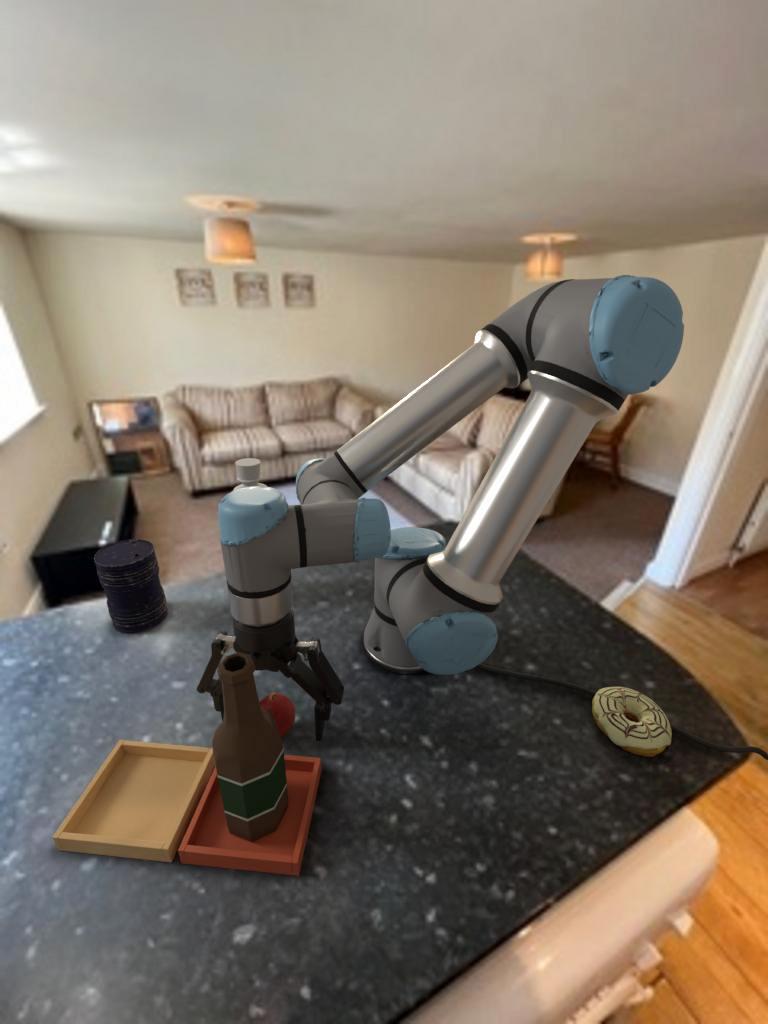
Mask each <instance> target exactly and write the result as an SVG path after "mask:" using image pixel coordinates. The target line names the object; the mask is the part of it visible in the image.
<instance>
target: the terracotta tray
mask: <svg viewBox="0 0 768 1024" xmlns="http://www.w3.org/2000/svg"><path fill="white" fill-rule="evenodd" d="M284 758H285V768H286V779H287V789H288V808H287V810H286V812H285V814H284V816H283V818H282V820H281V822H280V824H279V826H278V828H277V830H276V831H274V832H272V833H270V834H268V835H266V836H264V837H262V838H260V839H258V840H256V841H254V842H250V841H248V840H245V839H243V838H240V837H238V836H235V835H233V834H230V832H229V829H228V826H227V821H226V816H225V811H224V806H223V801H222V796H221V791H220V786H219V781H218V776H217V771H216V766H215V767H214V769H213V771H212V774H211V776H210V778H209V780H208V782H207V785H206V787H205V789H204V791H203V794H202V796H201V798H200V800H199V803H198V805H197V807H196V809H195V812H194V814H193V816H192V818H191V821H190V823H189V825H188V827H187V829H186V832H185V834H184V836H183V838H182V841H181V843H180V845H179V847H178V850H177V852H178V856H179V859H180V863H181V864H184V865H193V866H202V867H203V866H204V867H211V868H221V869H222V868H223V869H229V870H230V869H231V870H240V871H249V872H259V873H269V874H277V875H285V876H295V877H296V876H297V877H299V876H300V873H301V869H302V863H303V859H304V855H305V849H306V845H307V841H308V835H309V832H310V827H311V821H312V817H313V811H314V808H315V803H316V798H317V795H318V794H317V793H318V789H319V785H320V780H321V776H322V770H323V769H322V758H321V757H315V756H304V755H293V754H284Z"/></svg>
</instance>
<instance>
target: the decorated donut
mask: <svg viewBox="0 0 768 1024" xmlns="http://www.w3.org/2000/svg"><path fill="white" fill-rule="evenodd" d="M596 692H597V693H596V694H595V696H593V698H592V700H591V701H592V702H591V704H592V707H591V708H592V716H593V718H594V721H595V723H596V725H597V727H598V728H599V729H600V731H601V732H602V733H603V734H604V735H605V736H606V737H607V738H608V739H609V740H610V741H611V742H612V743H613V744H615V745H616V746H618V747H620V748H621V749H622V750H623V751H626V752H629V753H631V754H633V755H638V756H642V757H646V758H649V757H651V758H652V757H653V758H654V757H655V756H656V755H658V754H659V755H660V754H662V752H663V751H665V749H666V748H667V747H668V746H670V745H671V744H672V735H673V733H672V732H673V731H671V727H670V724H671V723H670V721H669V719H668V716H667V715H666V713H665V712H664V711H663V710H662V708H661V707H660V706H659V705H658V704H657V703H656V702H655V701H654V700H653V699H651V698H649V697H648V696H647V695H644V694H643V693H641V692H640V691H637V690H634V689H632V688H629V687H624V686H607V687H603V688H599V689H598V690H597V691H596Z"/></svg>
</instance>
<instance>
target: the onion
mask: <svg viewBox="0 0 768 1024" xmlns="http://www.w3.org/2000/svg"><path fill="white" fill-rule="evenodd" d="M259 703H260V706H261V707H262V708H264V709H266V710H268V711H270V713H271V714H272V715H273V717H274V718H275V721H276V724H277V727H278V730H279V733H280V735H281V738H282V737H284V736H286V735H287V734H288V733H289V732H290V731H291V730H292V729H293V726H294V723H295V721H296V708H295V705H294V703H293V702H292V701H291V699H290V698H289V697H287V696H286V695H284V694H281V693H278V692H277V691H272V692H269V694H268V695H266V696H264V697H263V698H262V699H260V700H259Z"/></svg>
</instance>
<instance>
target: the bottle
mask: <svg viewBox="0 0 768 1024" xmlns="http://www.w3.org/2000/svg"><path fill="white" fill-rule="evenodd" d="M234 465H235V468H236V473H237V478H236V480H237V481H239V482H240V483H241V484H238V485H237V486H235V487H234V488H233V490H232V491H235V490H238V489H241V488H246V487H253V486H260V487H262V488H267V487H268V485H267V484H264V483H261V482H259V481H260V480H261V479H262V478H263V476H262V475H261V460H260V459H258V458H253V457H248V458H247V457H246V458H240V459H238V460H236V461H235V462H234Z"/></svg>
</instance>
